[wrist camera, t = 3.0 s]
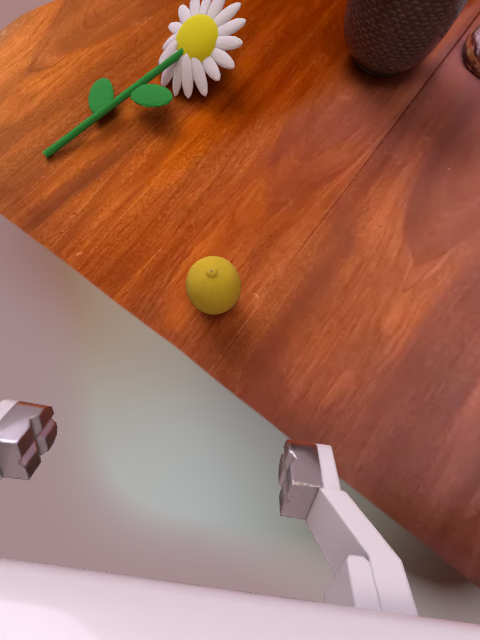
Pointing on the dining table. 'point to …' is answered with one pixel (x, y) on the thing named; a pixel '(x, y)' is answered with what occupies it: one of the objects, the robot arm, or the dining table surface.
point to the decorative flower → (174, 63)
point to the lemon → (213, 285)
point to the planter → (396, 32)
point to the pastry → (472, 51)
